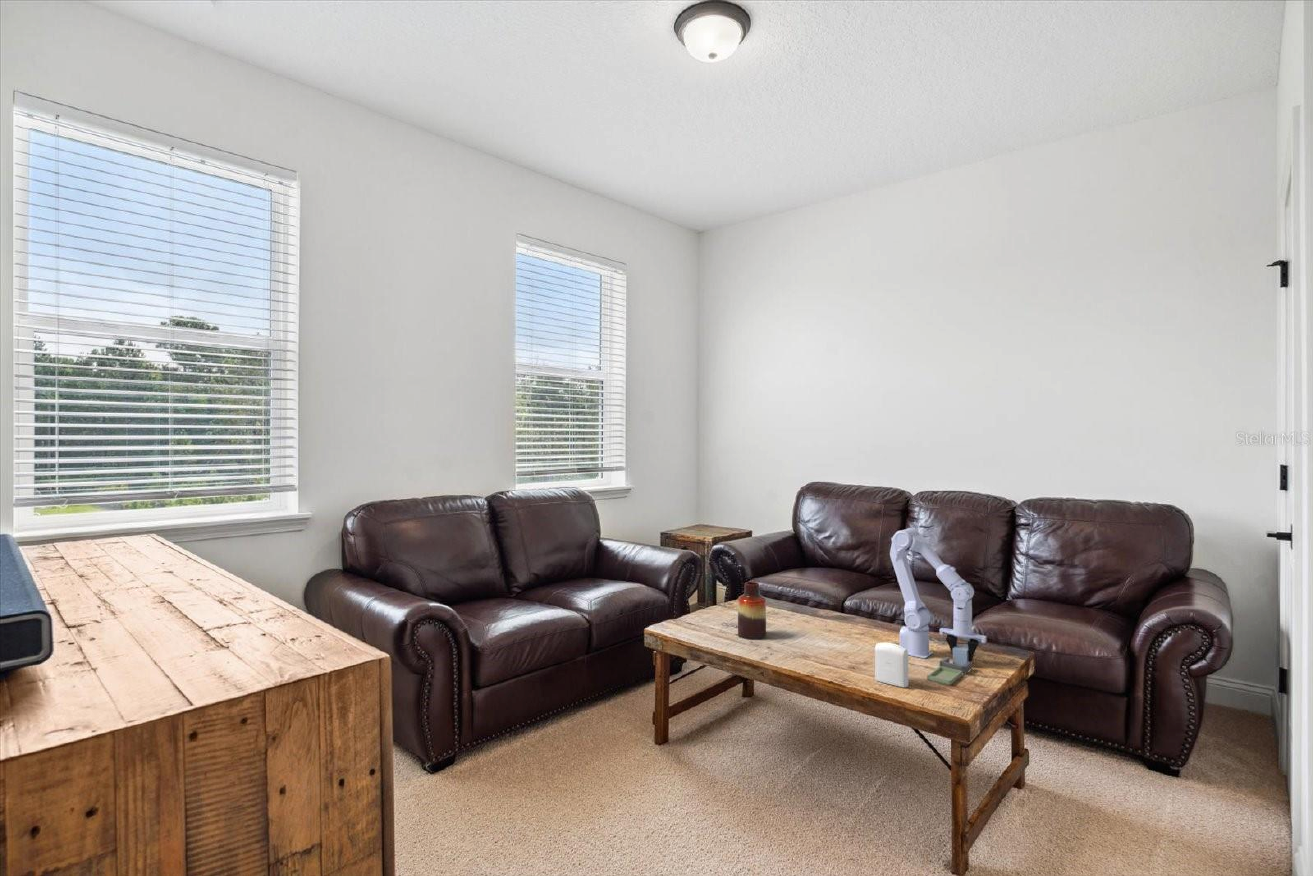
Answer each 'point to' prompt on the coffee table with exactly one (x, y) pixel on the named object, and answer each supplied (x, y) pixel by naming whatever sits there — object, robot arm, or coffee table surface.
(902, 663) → the photo printer
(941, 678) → the tray
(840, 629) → the coffee table surface
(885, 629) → the coffee table surface
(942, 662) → the bay
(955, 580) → the robot arm
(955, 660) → the stepped two-tone block
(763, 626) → the vase
